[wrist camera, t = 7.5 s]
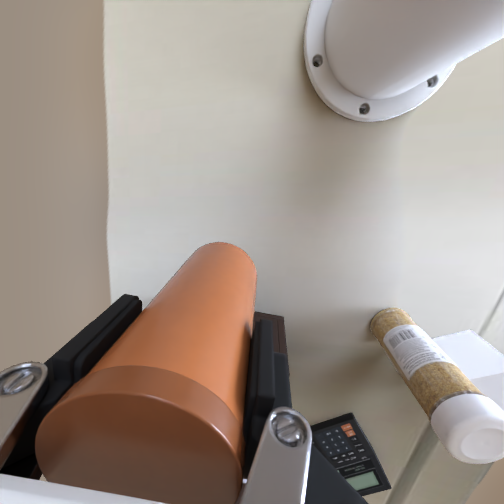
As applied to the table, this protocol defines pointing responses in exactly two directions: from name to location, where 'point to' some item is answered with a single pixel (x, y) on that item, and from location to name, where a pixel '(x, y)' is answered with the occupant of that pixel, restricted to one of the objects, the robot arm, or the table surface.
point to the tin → (165, 394)
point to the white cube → (476, 362)
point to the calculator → (350, 453)
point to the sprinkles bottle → (442, 390)
